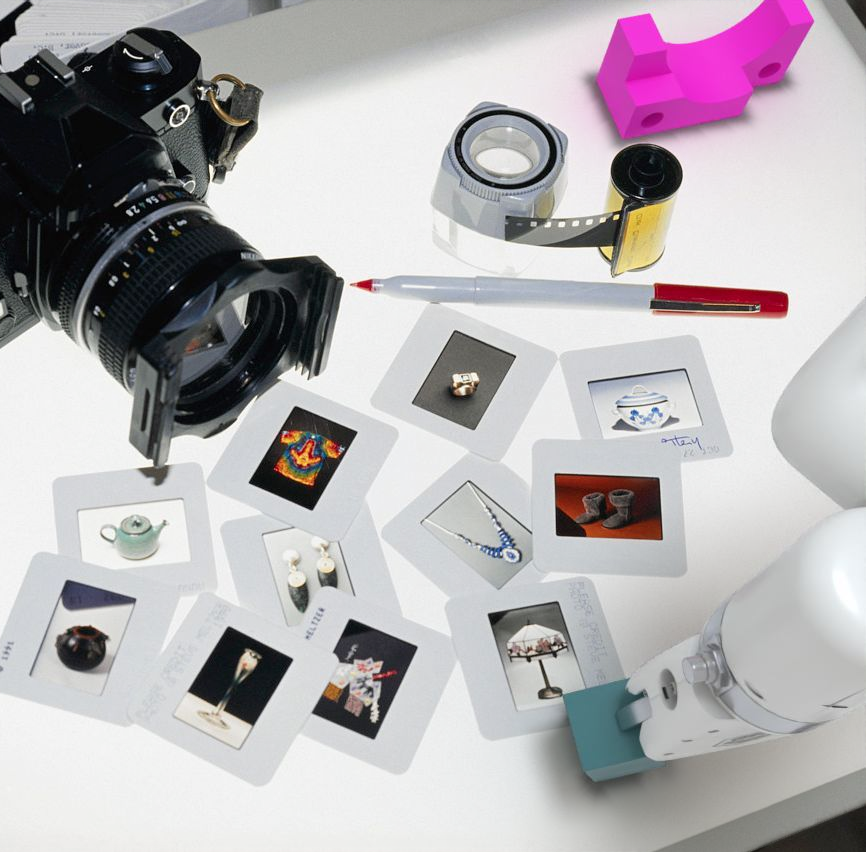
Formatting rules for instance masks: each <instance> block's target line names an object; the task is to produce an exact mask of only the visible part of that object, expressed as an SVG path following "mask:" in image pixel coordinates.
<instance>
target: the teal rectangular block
mask: <svg viewBox="0 0 866 852" xmlns="http://www.w3.org/2000/svg"><path fill="white" fill-rule="evenodd" d="M630 678H631V677H627V678H623V679H619V680H616V681H611V682H606V683H603V684H600V685H596V686H591V687H587V688H584V689H583V688H582V689H580V690H575V691H570V692H568V693H563V694H561V696H562V700H563V703H564V707H565V710H566V711H565V712H566V715H567V716H568V722H569V725H570V728H571V731H572V736H573V740H574V742H575V746H576V750H577V754H578V756H579V761H580V763H581V767H582V771H583V773H585V774H586V775H587V776H588V777H589V778H590V779H591V780H592V781H593V782H594V783H597V782H603V781H607V780H611V779H616V778H620V777H626V776H629V775H634V774H638V773H642V772H646V771H650V770H655V769H659V768H663V767H666V762H665V761H666V760H665V761H655V760H653V759H651V758H649V757H647V756H646V755H645V753H644V751H643V748H642V746H641V743H640V739H639V738H640V731H641V728H638V729H634V730H630V731H626V732H621V728H620V725H619V722H618V718H617V715H616V711H617V710H619V709H621V708H623V707H625V706H627V705H629V704H631V703H633V702H635V701H637V700H639V699H641V698H643V697H645V696H644V695H643V692H641V693H639V694H637V695H634V694H630V692H629V691H627V690H626V689H625V688H626V685H627V683H628V681H629V679H630Z"/></svg>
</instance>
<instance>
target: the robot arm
mask: <svg viewBox="0 0 866 852" xmlns="http://www.w3.org/2000/svg"><path fill="white" fill-rule="evenodd" d="M771 416H772V417H771V422H770V432H771V436H772V440H773V442H774V443H773V444H774V445H775V447H776V449H777V450H778V452H779V453H780V455H781V456H782V457H783V459H784V460H785V461H786V462H787V464H789V465H790V466H791V467H792V468H793V469H795V471H796V472H798V473H799V474H800V476H801V475H802V477H804V478H805V479H806V480H807V481H809V482H810V483H811V484H812V485H814V486H815V487H816V488H817V489H818V490H819V491H820V492H822V493H823V494H824V495H826V496H827V497H828V498H829V499H830V500H832V501H833V502H834V503H835V504H837V505H838V506H839V507H840V508H841V509H843V510H840V511H838V512H835V513H832V514H831V515H828V516H827V517H825V518H823V519H822V520H820V521H819V522H817V523H816V524H814V525H813V526H812V527H810V528H809V529H808V530H806V531H805V532H804V533H803V534H802V535H800V536H799V537H798V538H797V539H796V540H794V541H793V542H792V543H791V544H790V545H788V546H787V547H786V548H785V549H784V550H783V551H781V552H780V553H779V554H778V555H777V556H776V557H774V558H773V559H772V560H771V561H770V562H768V563H767V564H766V565H765V566H764V567H762V568H761V569H760V570H759V571H758V572H756V573H755V574H754V575H753V576H752V577H751V578H749V579H748V580H747V581H746V582H745V583H743V584H742V585H741V586H740V587H739V588H738V589H737V590H735V591H734V592H732V594H731V595H729V596H728V597H727V598H726V599H725V600H723V601H722V602H721V603H720V604H718V605H717V606H716V607H715V609H714V610H712V612H711V613H710V614H709V616H708V617H707V619H706V620H705V623H704V625H703V627H702V629H701V631H700V632H697V633H695V634H694V635H692V636H690V637H688V638H686V639H684V640H682V641H680V642H678V643H677V644H675V645H674V646H672V647H670V648H668V649H666V650H665V651H663V652H662V653H660V654H658V655H657V656H655V657H653V658H652V659H651V660H649V661H648V662H646V663H645V664H643V665H642V666H641V667H640V668H638V669H637V670H636V671H635V672H634V673H633V674H632V675H631V676H630V677H629V678H630V679H629V681H628V683H627V685H626V688H625V689H626V690H627V691H629V692H630V694H634V695H637V694H639V693H641V692H643V695H644V697H643V698H641V699H639V700H637V701H635V702H633V703H631V704H629V705H627V706H625V707H623V708H621V709H619V710H617V711H616V715H617V718H618V722H619V725H620V728H621V732H626V731H630V730H634V729H638V728H641V731H640V738H639V739H640V743H641V746H642V748H643V751H644V753H645V755H646V756H647V757H649V758H651V759H653V760H655V761H672V760H677V759H684V758H689V757H694V756H695V757H696V756H699V755H706V754H710V753H715V752H716V753H717V752H720V751H721V752H722V751H726V750H731V749H735V748H741V747H745V746H746V747H747V746H750V745H754V744H759V743H760V744H761V743H765V742H769V741H774V740H779V739H783V738H787V737H793V736H798V735H803V734H807V733H809V732H812V731H814V730H816V729H818V728H819V727H822V726H824V725H826V724H829V723H830V722H832V721H833V722H834V721H835V720H837V719H840V718H841V717H843V716H845V715H848V714H849V713H851V712H853V711H856V710H858V709H860V708H862V707H864V706H866V296H864V297H863V298H862V300H860V302H859V303H858V304H857V305H856V306H855V307H854V308H853V309H852V311H851V312H849V314H848V315H847V316H846V317H845V318H844V319H843V321H842V322H840V323H839V325H838V326H837V327H835V329H834V330H833V331H832V333H831V334H830V335H828V337H827V338H826V339H825V340H824V341H823V342H822V344H820V345H819V347H818V348H816V350H815V351H814V352H813V353H812V355H811V356H810V357H809V358H808V359H807V360H806V361H805V362H804V364H803V365H802V366H801V367H800V368H799V370H797V372H796V373H795V374H794V376H793V377H792V378H791V379H790V381H789V382H788V384H787V385H786V386H785V388H784V389H783V391H782V393H781V394H780V396H779V398H778V400H777V402H776V403H775V407H774V409H773V412H772V415H771Z"/></svg>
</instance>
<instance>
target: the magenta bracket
mask: <svg viewBox="0 0 866 852" xmlns="http://www.w3.org/2000/svg"><path fill="white" fill-rule="evenodd" d="M814 24H815V19H814V17H813V15H812V14H811V11H810V10H809V8H808V6H807V4H806V3H805V1H804V0H762V2H761V3H760V4H759V5H758V6H757V7H755V9H754V10H752V11H751V12H750V13H749V14H748V15H747V16H745V17H743V19H741V20H740V21H738V22H737V23H735V24H734V25H732V26H730V27H729V28H727V29H725V30H724V31H722V32H721V31H720V32H719V33H717V34H715V35H712V36H709V37H706V38H704V39H701V40H697V41H692V42H686V43H673V42H668V41H665V40H664V38H663V37H662V35H661V32H660V29H658V28H659V27H657V24H656V22H655V20H654V18H653V16H652V13H650V12H648V13H643V14H642V13H641V14H637V15H632V16H627V17H622V18H618V19H617V20H616V23H615V26H614V29H613V31H612V34H611V37H610V40H609V43H608V46H607V48H606V51H605V54H604V57H603V59H602V61H601V64H600V68H599V70H598V73H597V76H596V78H595V82H596V83H597V85H598V88H599V90H600V93H601V94H602V97H603V99H604V102H605V104H606V107H607V108H608V110H609V112H610V114H611V117H612V120H613V122H614V124H615V125H616V129H617V130H618V132H619V135H620V137H621V140H626V139H627V140H628V139H632V138H636V137H641V136H646V135H652V134H655V133H661V132H664V131H665V132H666V131H671V130H675V129H681V128H686V127H691V126H695V125H700V124H707V123H711V122H715V121H720V120H721V121H722V120H726V119H730V118H735V117H740V116H741V115H742V113H743V111H744V109H745V108H746V107H747V104H748V103H749V100H750V98H751V96H752V95H753V93H754V91H755V90H754V88H755V87H760V86H761V87H762V86H766V85H770V84H777V83H781V81H782V80H783V78H784V76H785V75H786V73H787V71H788V69H789V67H790V65H791V64H792V62H793V60H794V58H795V57H796V55H797V53H798V51H799V50H800V48H801V46H802V44H803V43H804V41H805V39H806V38H807V35H808V33H809V31H810V30H811V28H812V27H813V25H814Z"/></svg>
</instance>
